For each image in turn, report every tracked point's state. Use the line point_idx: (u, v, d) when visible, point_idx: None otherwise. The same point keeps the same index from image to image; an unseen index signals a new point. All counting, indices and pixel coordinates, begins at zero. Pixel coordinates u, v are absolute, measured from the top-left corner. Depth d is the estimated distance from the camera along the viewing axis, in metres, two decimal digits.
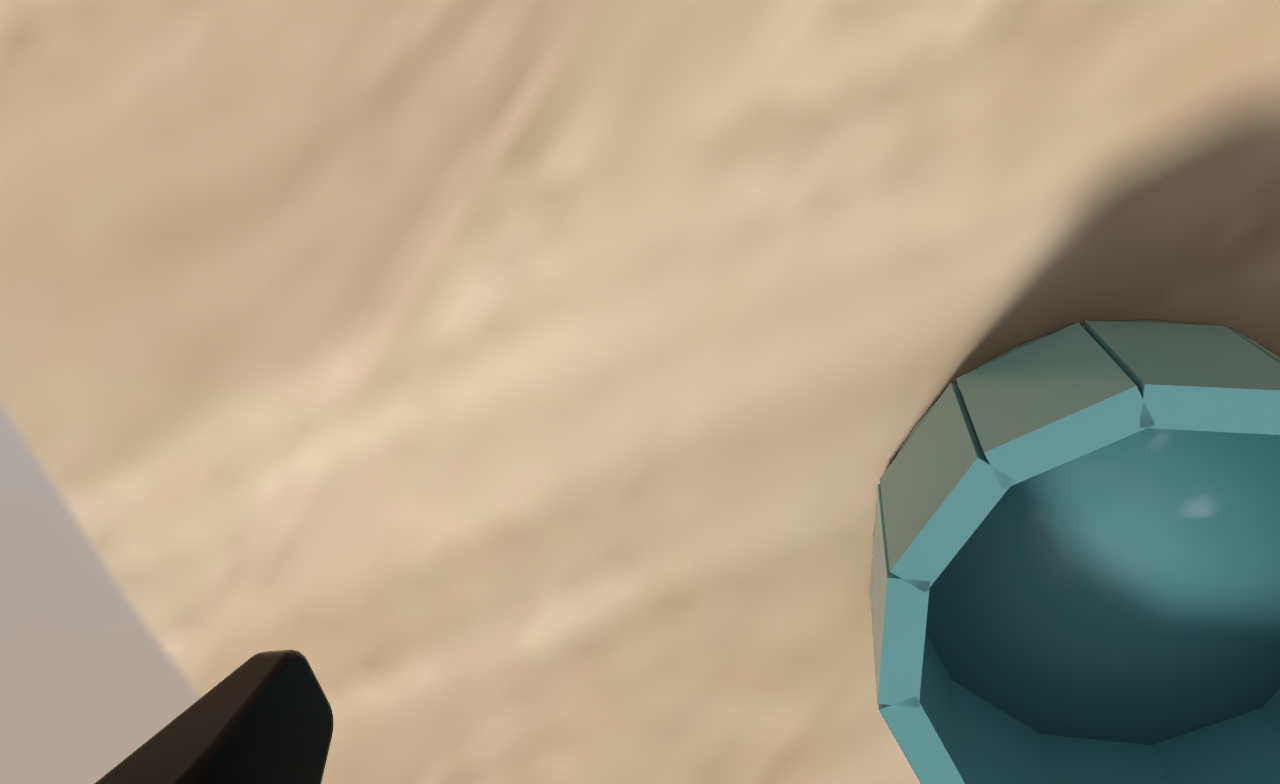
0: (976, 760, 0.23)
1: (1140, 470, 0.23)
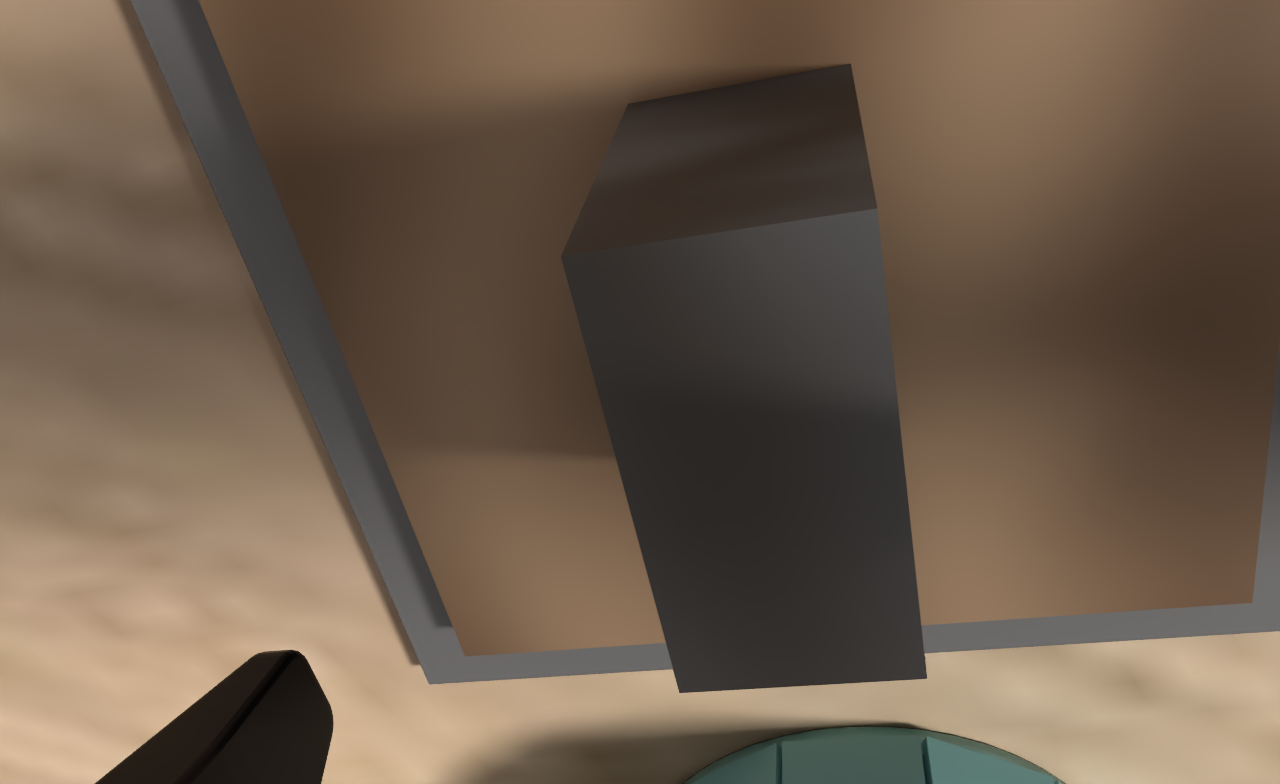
0: None
1: None
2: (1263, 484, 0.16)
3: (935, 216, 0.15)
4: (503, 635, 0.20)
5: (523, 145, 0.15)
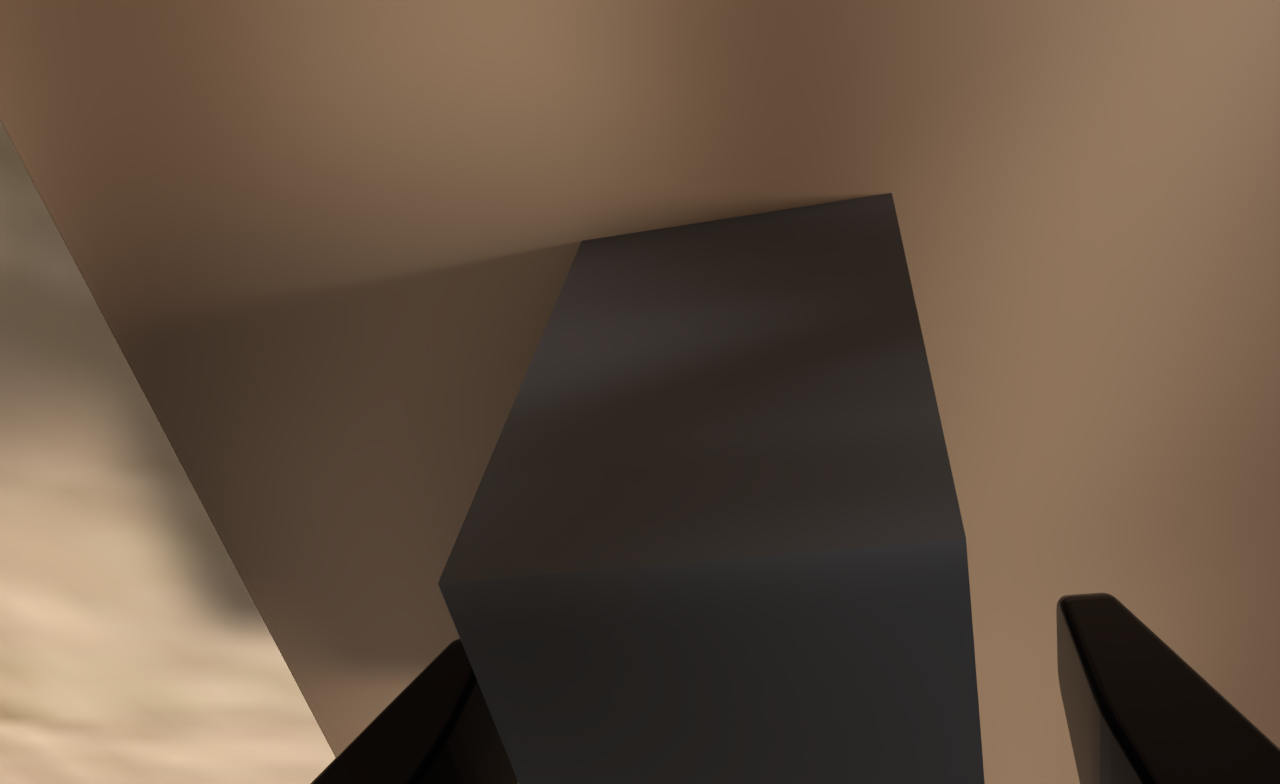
0: None
1: None
2: None
3: (1005, 390, 0.11)
4: None
5: (441, 291, 0.11)
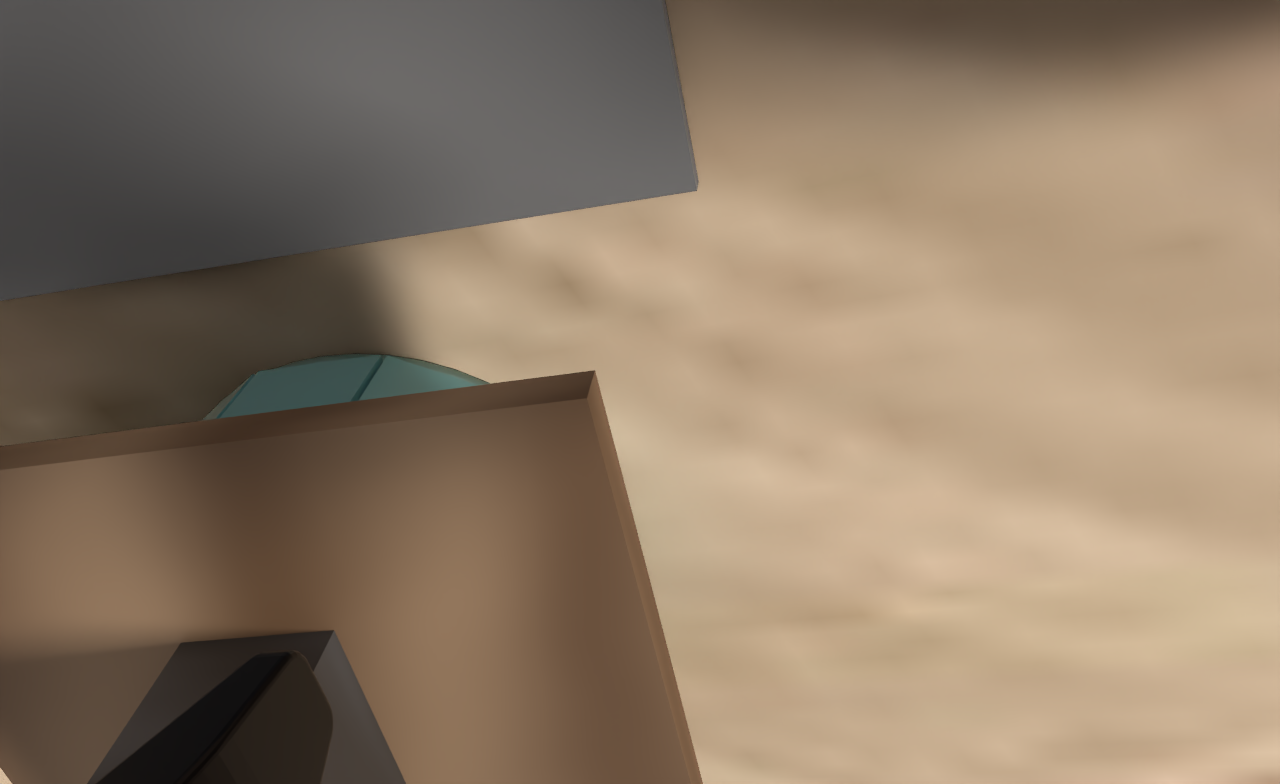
0: None
1: None
2: None
3: (423, 719, 0.19)
4: None
5: (110, 661, 0.19)
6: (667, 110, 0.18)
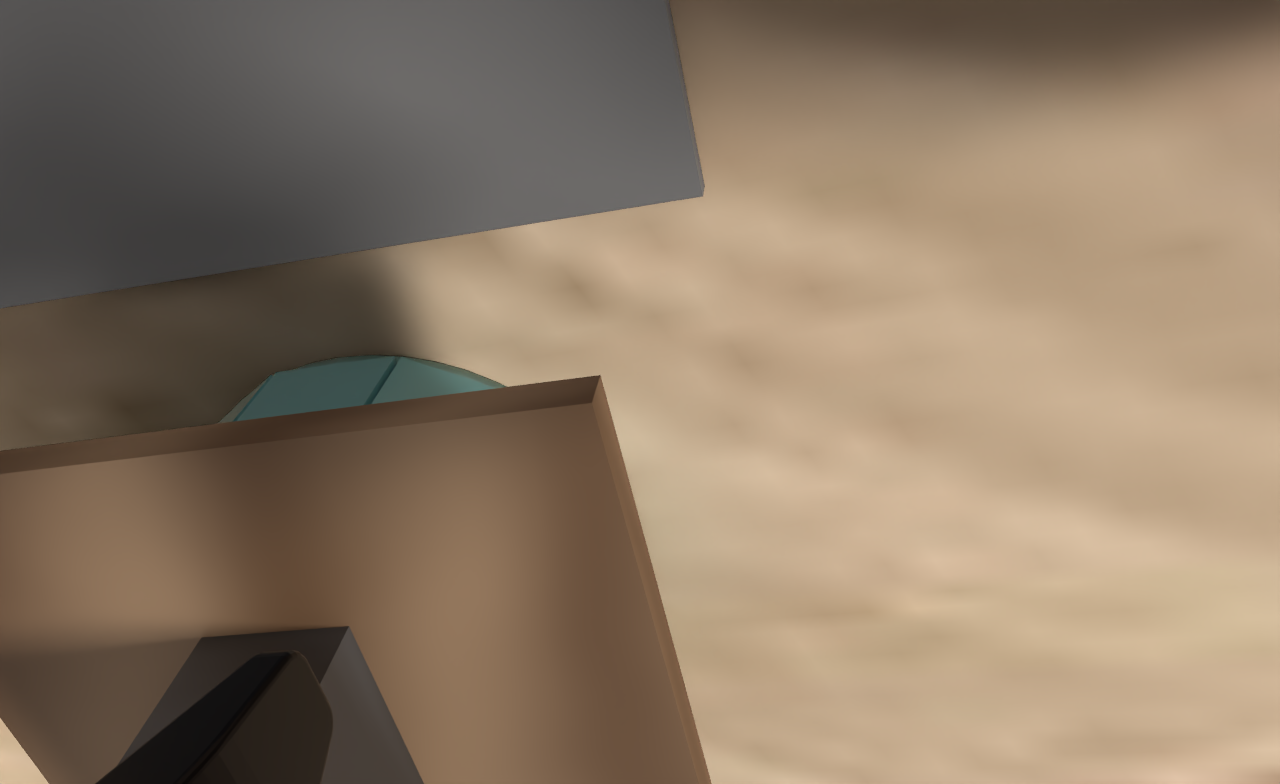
0: None
1: None
2: None
3: (436, 712, 0.20)
4: None
5: (134, 655, 0.20)
6: (673, 118, 0.19)
